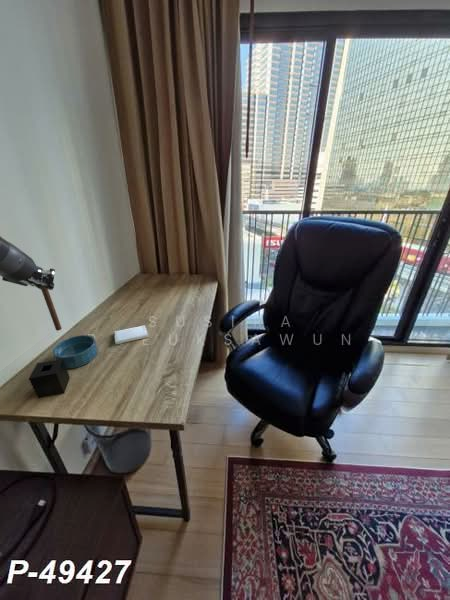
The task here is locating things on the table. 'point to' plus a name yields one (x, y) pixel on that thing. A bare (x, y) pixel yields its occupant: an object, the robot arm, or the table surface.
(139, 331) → the hard drive
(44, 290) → the stick
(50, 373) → the holder
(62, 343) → the bowl
